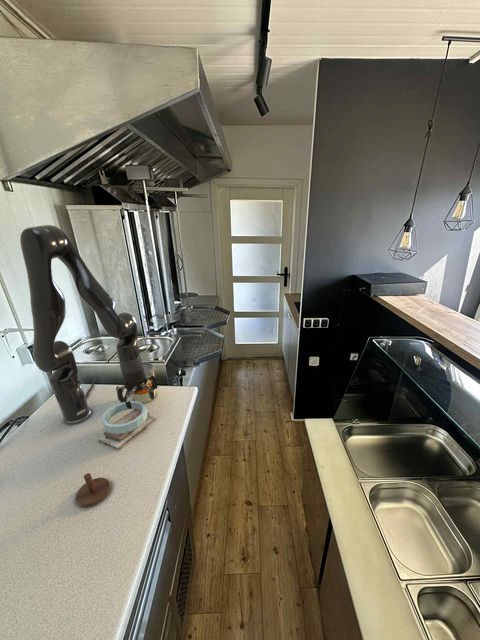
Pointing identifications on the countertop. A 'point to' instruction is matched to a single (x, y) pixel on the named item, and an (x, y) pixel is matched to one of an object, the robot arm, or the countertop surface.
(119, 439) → the packaged product
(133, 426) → the ring
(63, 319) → the robot arm
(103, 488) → the ring stand
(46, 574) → the countertop surface
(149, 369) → the reusable coffee cup
